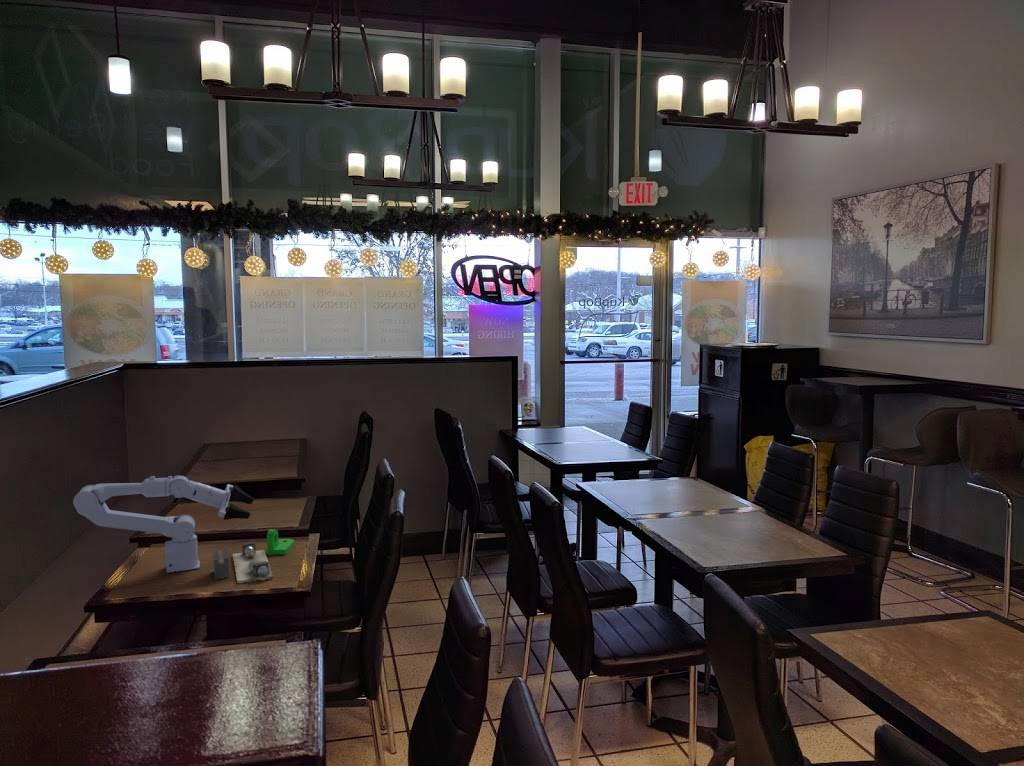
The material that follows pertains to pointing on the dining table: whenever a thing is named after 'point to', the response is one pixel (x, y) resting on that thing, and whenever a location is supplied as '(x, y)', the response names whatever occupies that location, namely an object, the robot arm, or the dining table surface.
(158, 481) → the robot arm
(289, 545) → the mechanical part
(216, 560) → the grey slotted block
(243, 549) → the metal cylinder fitting
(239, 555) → the board
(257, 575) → the angled shaft
